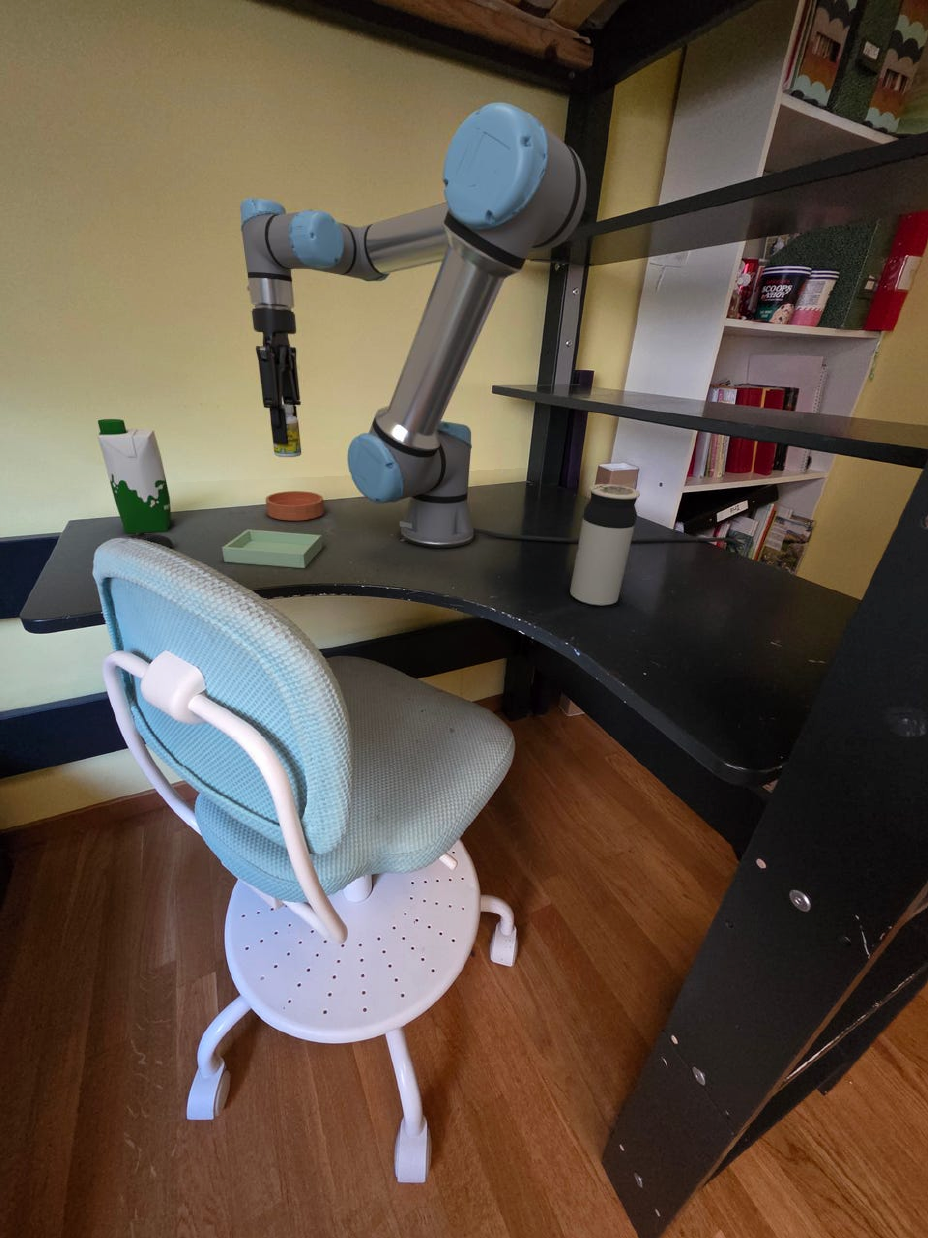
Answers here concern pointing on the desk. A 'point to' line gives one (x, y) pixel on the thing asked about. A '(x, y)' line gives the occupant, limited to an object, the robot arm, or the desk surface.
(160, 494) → the milk carton
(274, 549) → the tray
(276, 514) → the bowl
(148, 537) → the game controller
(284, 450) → the supplement bottle
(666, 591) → the desk surface
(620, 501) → the travel mug
